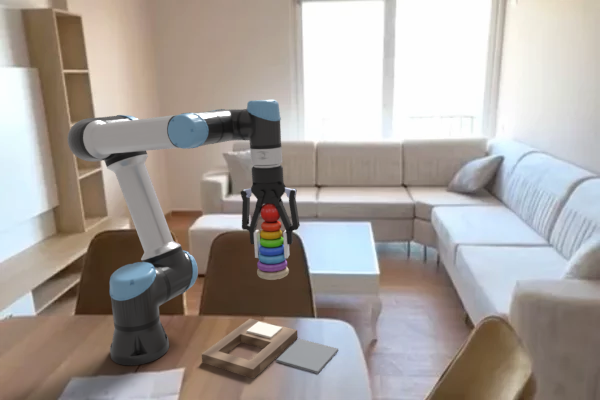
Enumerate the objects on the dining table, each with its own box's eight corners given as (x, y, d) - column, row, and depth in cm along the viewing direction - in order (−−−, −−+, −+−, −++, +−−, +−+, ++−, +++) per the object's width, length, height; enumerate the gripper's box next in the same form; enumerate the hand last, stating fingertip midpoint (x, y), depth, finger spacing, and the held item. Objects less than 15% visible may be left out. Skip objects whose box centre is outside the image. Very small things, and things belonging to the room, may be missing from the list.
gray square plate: (276, 361, 128) (276, 359, 127) (298, 340, 138) (298, 338, 138) (317, 373, 122) (317, 371, 122) (338, 350, 132) (338, 348, 132)
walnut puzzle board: (202, 362, 128) (201, 351, 127) (250, 326, 147) (250, 316, 146) (253, 378, 120) (252, 367, 120) (297, 338, 139) (297, 328, 138)
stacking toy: (284, 281, 120) (280, 206, 116) (253, 280, 122) (248, 206, 118) (292, 270, 128) (288, 199, 124) (262, 269, 129) (258, 199, 125)
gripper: (222, 168, 117) (230, 260, 122) (304, 166, 113) (309, 262, 118) (232, 163, 124) (239, 251, 129) (309, 162, 121) (313, 252, 126)
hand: (272, 256), depth 124 cm, fingers closed on stacking toy, 7 cm apart
